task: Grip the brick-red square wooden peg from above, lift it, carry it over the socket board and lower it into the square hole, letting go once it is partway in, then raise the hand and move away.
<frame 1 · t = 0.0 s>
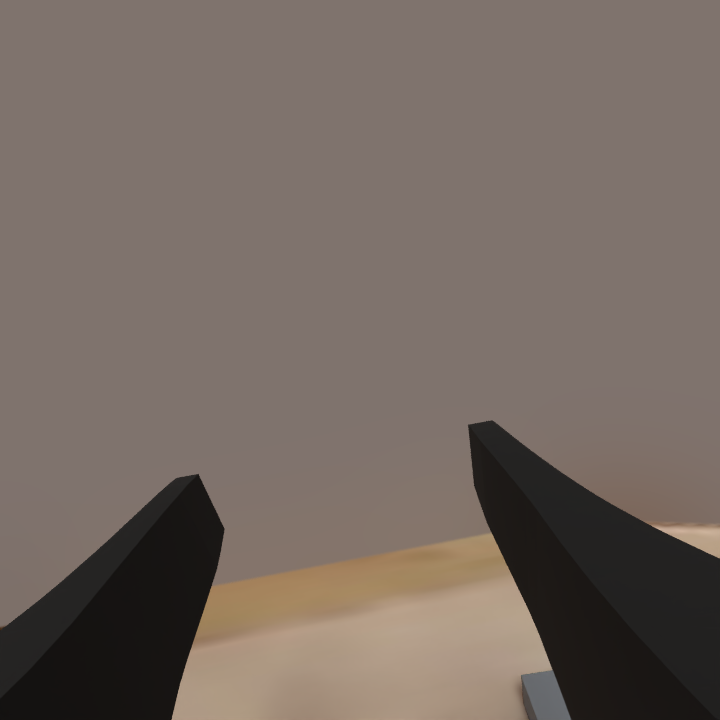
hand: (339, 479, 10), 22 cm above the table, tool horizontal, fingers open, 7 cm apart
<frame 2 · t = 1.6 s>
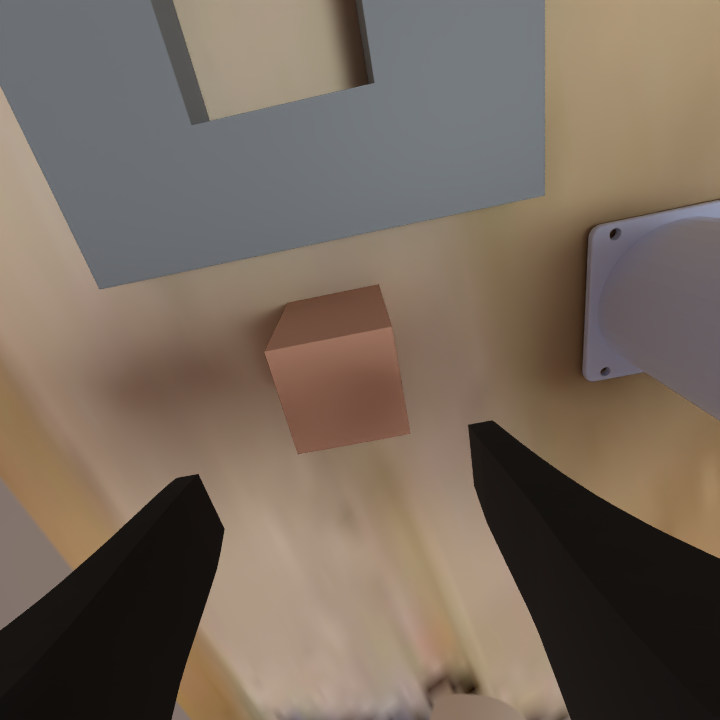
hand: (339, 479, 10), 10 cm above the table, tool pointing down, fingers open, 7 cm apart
socket board: (267, 13, 14), on the table
square peg: (342, 336, 20), on the table
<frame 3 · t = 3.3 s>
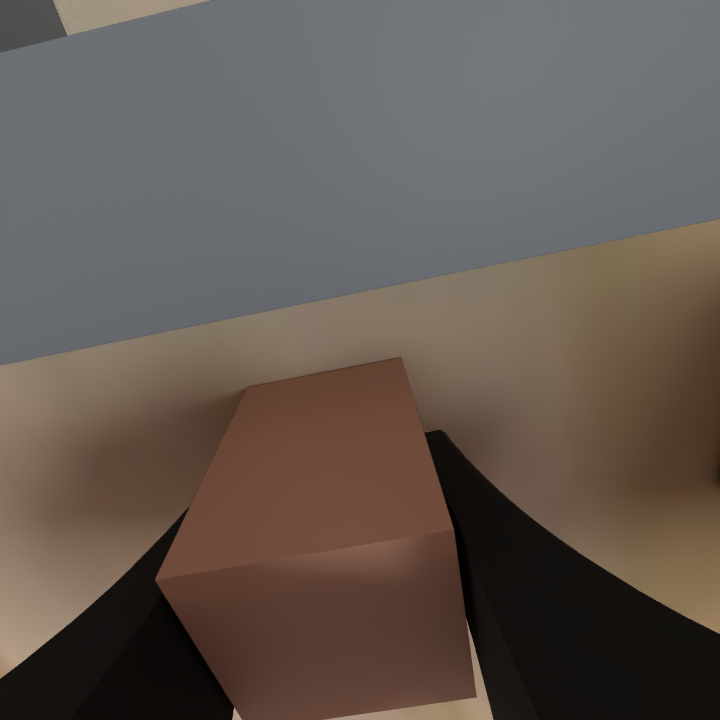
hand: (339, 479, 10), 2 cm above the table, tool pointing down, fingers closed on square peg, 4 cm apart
square peg: (340, 436, 12), on the table, touching gripper
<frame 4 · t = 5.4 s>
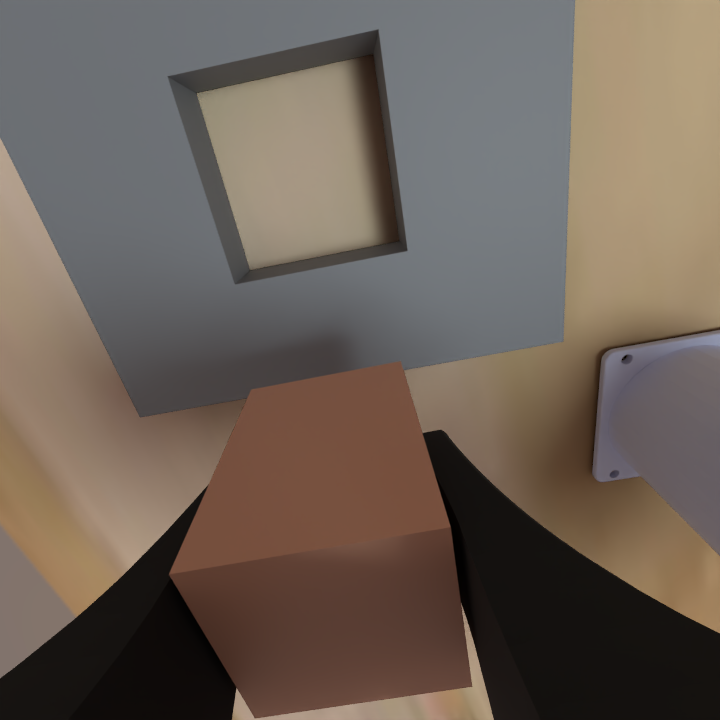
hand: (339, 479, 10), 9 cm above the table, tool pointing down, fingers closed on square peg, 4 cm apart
socket board: (305, 172, 15), on the table
square peg: (341, 437, 13), point 7 cm above the table, touching gripper
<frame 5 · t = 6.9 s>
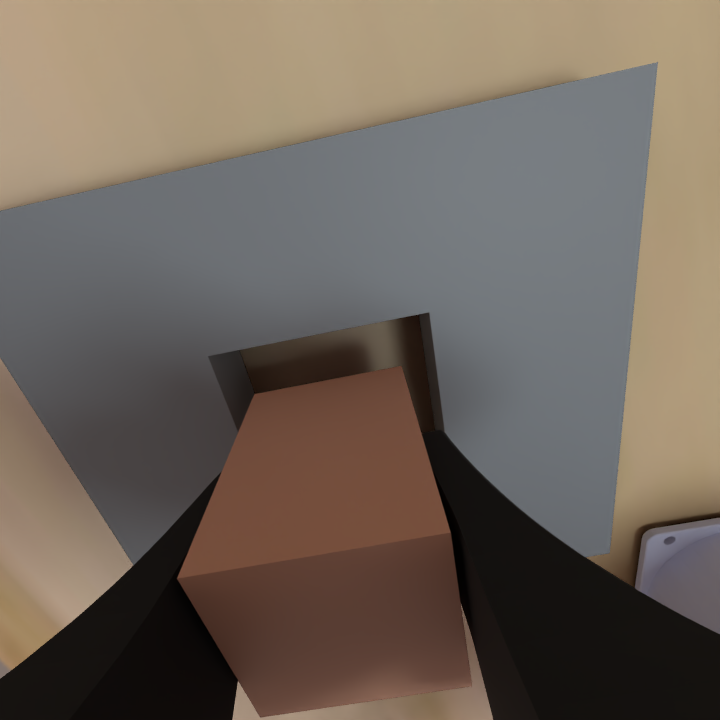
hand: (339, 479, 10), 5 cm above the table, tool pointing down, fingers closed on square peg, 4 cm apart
socket board: (342, 389, 15), on the table
square peg: (343, 440, 13), point 3 cm above the table, touching gripper
when the fingers open (3 cm above the table, at t = 7.8 s): square peg drops 1 cm, resting in socket board.
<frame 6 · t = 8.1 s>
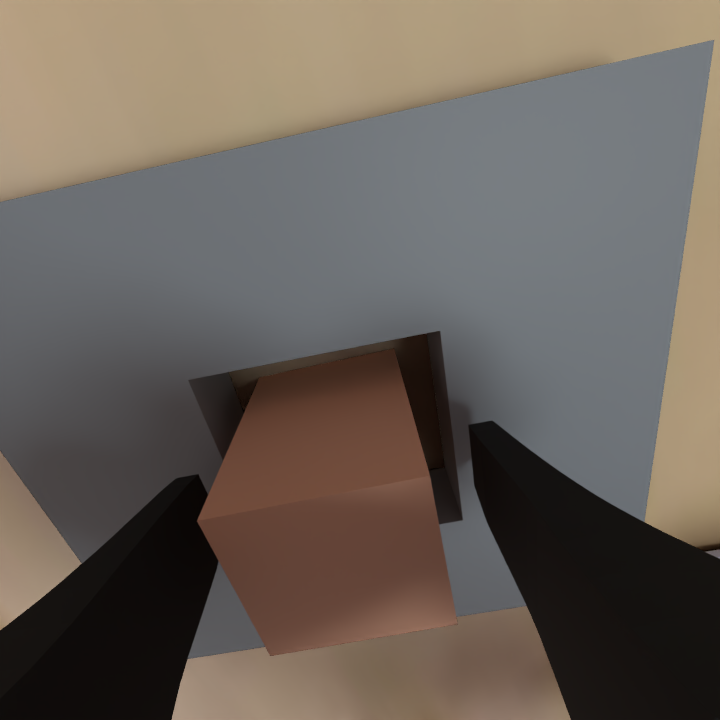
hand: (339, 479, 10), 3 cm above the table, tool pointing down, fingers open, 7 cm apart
socket board: (340, 410, 13), on the table
square peg: (342, 419, 14), resting in socket board
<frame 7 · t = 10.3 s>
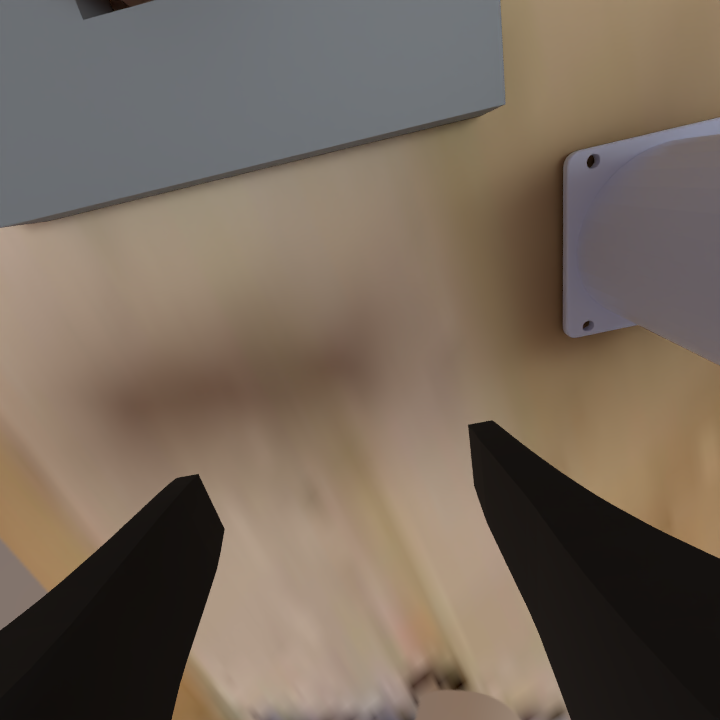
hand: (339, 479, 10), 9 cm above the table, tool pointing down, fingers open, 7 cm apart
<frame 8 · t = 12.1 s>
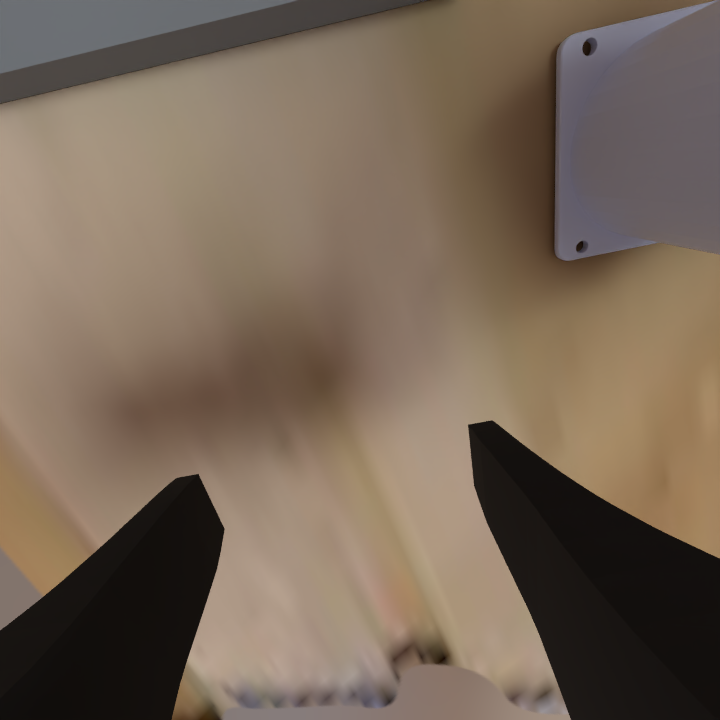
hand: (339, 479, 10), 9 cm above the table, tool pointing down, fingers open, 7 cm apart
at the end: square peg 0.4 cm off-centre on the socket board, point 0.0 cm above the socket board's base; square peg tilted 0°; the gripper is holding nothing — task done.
